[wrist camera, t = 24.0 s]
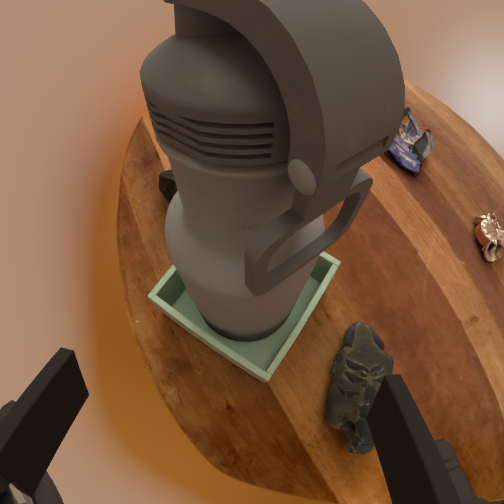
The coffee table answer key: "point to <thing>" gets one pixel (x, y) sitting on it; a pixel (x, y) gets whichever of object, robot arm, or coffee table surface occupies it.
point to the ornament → (490, 236)
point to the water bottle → (267, 144)
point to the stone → (357, 385)
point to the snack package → (411, 144)
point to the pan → (239, 352)
